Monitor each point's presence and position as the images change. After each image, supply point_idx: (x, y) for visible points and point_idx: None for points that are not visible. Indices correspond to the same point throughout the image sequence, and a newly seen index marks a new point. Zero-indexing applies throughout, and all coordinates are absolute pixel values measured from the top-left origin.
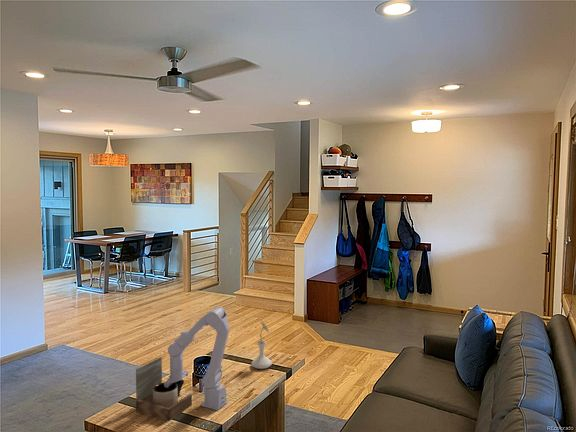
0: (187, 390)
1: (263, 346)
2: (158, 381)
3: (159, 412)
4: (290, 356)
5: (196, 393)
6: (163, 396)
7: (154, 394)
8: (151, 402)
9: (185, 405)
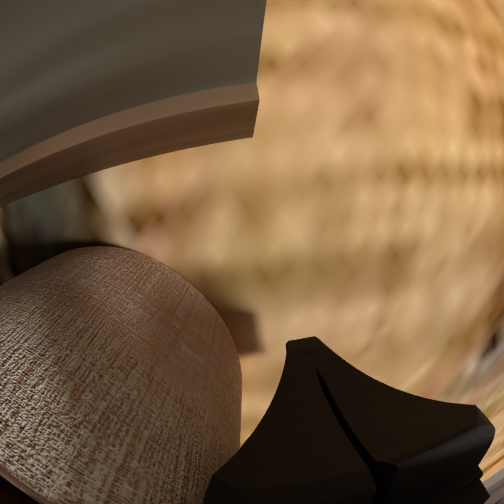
0: (484, 251)
1: None
2: (49, 37)
3: None
4: None
5: (463, 353)
6: (17, 501)
7: None
8: (66, 177)
9: None
